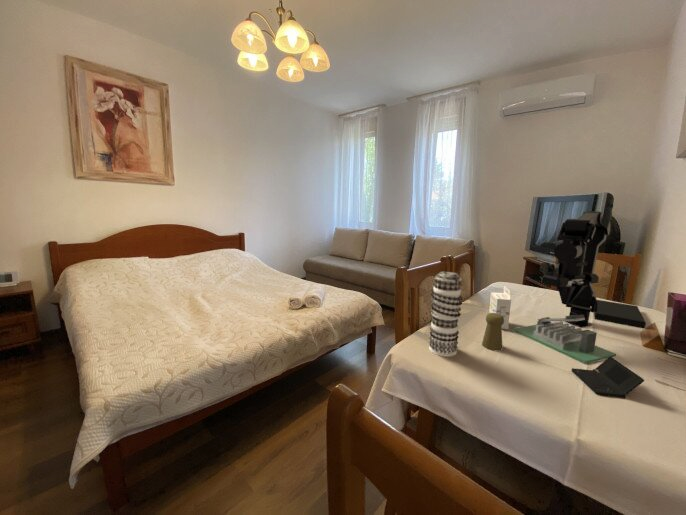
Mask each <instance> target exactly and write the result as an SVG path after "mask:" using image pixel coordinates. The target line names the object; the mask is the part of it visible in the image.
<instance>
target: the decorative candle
mask: <svg viewBox="0 0 686 515" xmlns="http://www.w3.org/2000/svg"><path fill="white" fill-rule="evenodd" d="M433 278H434V283H433V284H434V285H433V288H431V293H430V296H431V300H430V302H431V304H430V308H431V310H430V313H431V317H432V318H431V324H430V327H429V330H430V332H429V337H428V339H429V341H428V344H429V345H428V349H429V351H430V353H432V354H435V355H437V356H440V357H445V358H446V357H448V358H449V357H454V356H456V355H457V353H458V348H459V347H458V344H459V341H458V339H459V334H460V332H459V324H458V322H459V319H460V317H461V315H462V314H461V313H460V312H461V310H462V308H461V307H459V306H462V304H463V302H462V300H463V296H461V295H462V294H461V293H462V289H461V288H462V287H461V285H462V282H461V281H463V278H462V277H460V275H459V274H458V273H456V272H453V271H440V272H438V273H437V274H436V275H435V276H434V277H433Z"/></svg>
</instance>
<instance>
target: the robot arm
mask: <svg viewBox="0 0 686 515" xmlns="http://www.w3.org/2000/svg"><path fill="white" fill-rule="evenodd" d="M603 214H604V213H603V212H602V211H591V210H590V211H588V210H587V211H583V213H582V214H581V215H579V217H577V218H567V219H566V220H565V221H564V222H562V224H561V228H560V230H559V232H558V236H557V241H562V243H559V244H558V245H557V246H555V248H554V250H553V254H554V257H555V258H556V259H557V261H556V262H557V263H556V264H550V262H542V263H540V266H539V271H540V272H541V273H543V276H541V281H540V283H541V284H545V285H547V286H551V287H555V288H557V291H558V293H559V298H560V302H561V304H562V305H565V307H566V308H570V309H569V315H568V316H570V315H584V318H585V320H580V321H564V322H566V323H567V324H570V325H571V324H572V326H575V327H578V328H586V327H591V326H593V325H594V324H593V323H590V322H589V320H590V315H591V313H593V314H594V312H597V308H598V301H597V300H598V299H597V296H596V290H595V289H594V287H593V285H592V284H599V278H600V277H599V276H598V275H597V274H596V273H595V267H596V262H597V258H598V252H599V247H600V246H601V245H602V244H604V242H606V240H607V236H609V235H610V233H611V221H610V220H609V219H608V218H606V217H605V216H603Z"/></svg>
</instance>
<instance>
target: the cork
mask: <svg viewBox="0 0 686 515" xmlns="http://www.w3.org/2000/svg"><path fill="white" fill-rule="evenodd" d="M485 321H486V326H485V330H484V334H483V339H482V342H481V345H482V347H484V348H485V349H487V350H489V351H494V350H500V351H502V350H503V331H502V330H503V329H502V326H501V325H503V323H504V318H503V316H502V315H500V314H497V313H487V314H486V316H485ZM501 349H502V350H501Z"/></svg>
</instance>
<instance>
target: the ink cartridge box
mask: <svg viewBox="0 0 686 515" xmlns="http://www.w3.org/2000/svg"><path fill="white" fill-rule="evenodd" d="M489 302H490V303H489V311H488V312H489V313H497V314H500V315H502V316H503V318H504V323H503V325H501V326H502V330H508V329H509V324H510V313H511V304H512V303H511V302H512V291H511V290H510V289H508V288H507V287H506V286H505V285H503V292H493V291H492V292H490V301H489ZM489 313H488V314H489Z"/></svg>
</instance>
